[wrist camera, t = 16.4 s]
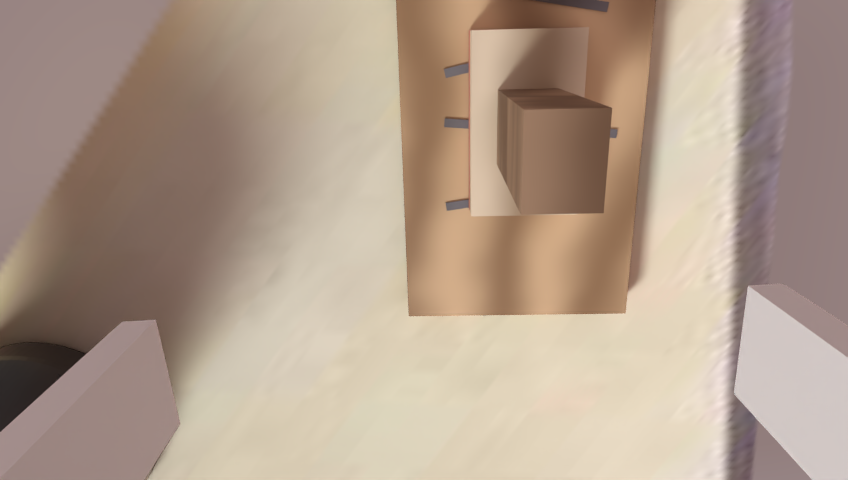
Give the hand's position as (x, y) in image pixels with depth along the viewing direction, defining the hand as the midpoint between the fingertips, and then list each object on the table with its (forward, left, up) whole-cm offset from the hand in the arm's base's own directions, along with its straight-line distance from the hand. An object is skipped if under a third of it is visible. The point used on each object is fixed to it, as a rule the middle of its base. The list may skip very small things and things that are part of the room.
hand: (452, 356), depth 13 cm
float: (+5, +2, -22) cm, 23 cm away
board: (+5, +1, -24) cm, 24 cm away
